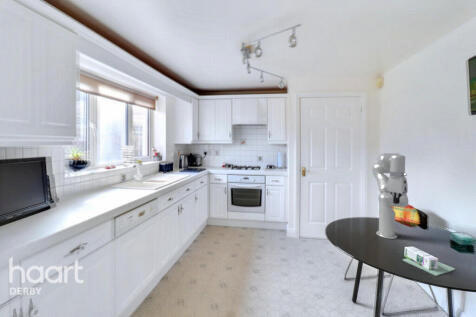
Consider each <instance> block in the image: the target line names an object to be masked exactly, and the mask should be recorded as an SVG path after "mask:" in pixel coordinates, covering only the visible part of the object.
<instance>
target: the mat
mask: <svg viewBox="0 0 476 317" xmlns="http://www.w3.org/2000/svg"><path fill="white" fill-rule="evenodd" d="M402 261H403V262H405V263H407V264H409V265H412V266H414V267H415V268H418V269H421V270H422V271H425V272H427V273H429V274H431V275H433V276H435V277H437V276H441V275H443V274H447V273H450V272H453V271H455V270H456V267H455V268H454V267H452V266H449V265H447V264H444V263H443V262H440V261H438V269H434V270H428V269H426V268H425V267H423V266H421V265H419V264H417V263H416V262H414V261H412V260H410V259H408V258H403V259H402Z"/></svg>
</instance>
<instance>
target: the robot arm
mask: <svg viewBox="0 0 476 317" xmlns="http://www.w3.org/2000/svg"><path fill="white" fill-rule="evenodd" d="M376 159H377V162H376V163H373V165H372V168H371V170H372V171H371V172H372V175H373V177H374V178H375V180H376V182H377V186H378V191H379V194H378V197H377V198H378V204H379V205H378V206H379V211H378V212H379V217H378V230H377V231H376V232H375V234H376V235H377V236H378V237H381V238H385V239H391V240H392V239H393V240H394V239H397V238H398V235H397V234H396V233H399V229H396V211H395V210H394V208H392V207H395V208H396V207H397V208H407V207H408V205H409V198H408V194H407V193H408V191H409V189H408V181H407V180H408V179H407V177H406V176H408V174H407V173H406V156H405V155H403V154H400V153H391V152H389V153H385V152H384V153H382V154H381V153H379V154H378V156H377V158H376ZM386 174H389V176H387V175H386Z"/></svg>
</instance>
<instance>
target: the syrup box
mask: <svg viewBox="0 0 476 317" xmlns="http://www.w3.org/2000/svg"><path fill="white" fill-rule="evenodd" d="M404 257H405V259H407V258H408V259H410V260H412V261H414V262H416V263H417V264H419V265H421V266H423V267H425V268H426V269H428V270H434V269H438V262H439V258H438V257H435V256H434V255H432V254H429V253H428V252H425V251H423V250H422V249H419V248H417V247H415V246H405V247H404Z"/></svg>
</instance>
